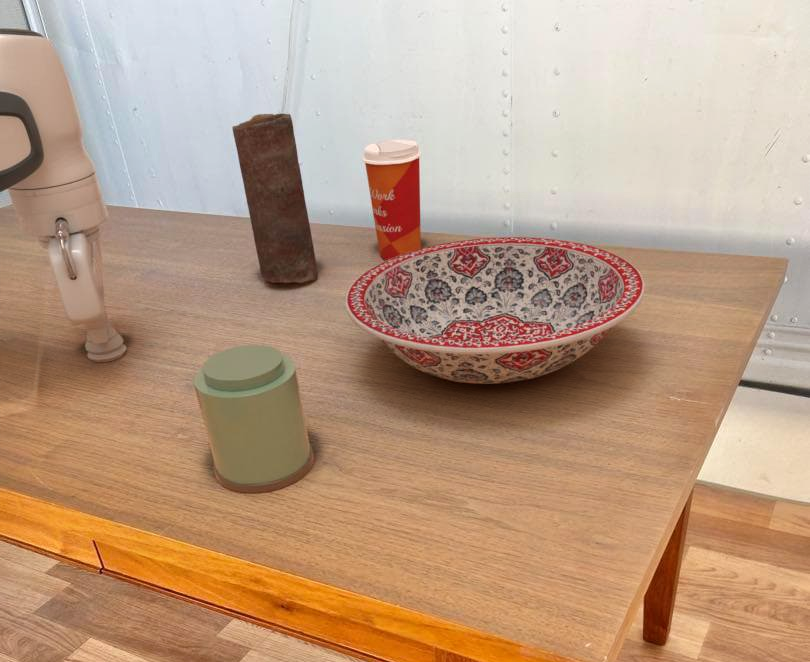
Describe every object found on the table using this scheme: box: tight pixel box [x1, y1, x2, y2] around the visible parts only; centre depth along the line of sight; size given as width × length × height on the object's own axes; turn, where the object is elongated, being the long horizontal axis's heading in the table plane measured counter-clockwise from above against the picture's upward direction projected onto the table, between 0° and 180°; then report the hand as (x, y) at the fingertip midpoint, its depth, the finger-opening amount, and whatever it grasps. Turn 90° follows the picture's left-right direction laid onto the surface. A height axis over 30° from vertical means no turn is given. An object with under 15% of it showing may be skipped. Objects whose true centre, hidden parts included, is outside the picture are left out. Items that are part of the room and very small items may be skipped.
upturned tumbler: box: [193, 344, 315, 494], centre depth 72 cm, size 9×9×10 cm
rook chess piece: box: [84, 305, 127, 363], centre depth 95 cm, size 4×4×8 cm
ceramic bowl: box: [344, 236, 646, 385], centre depth 86 cm, size 29×29×8 cm
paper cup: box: [361, 139, 423, 261], centre depth 112 cm, size 8×8×14 cm
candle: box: [232, 113, 319, 284], centre depth 106 cm, size 8×7×20 cm
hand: (101, 333), depth 96 cm, fingers closed on rook chess piece, 3 cm apart
